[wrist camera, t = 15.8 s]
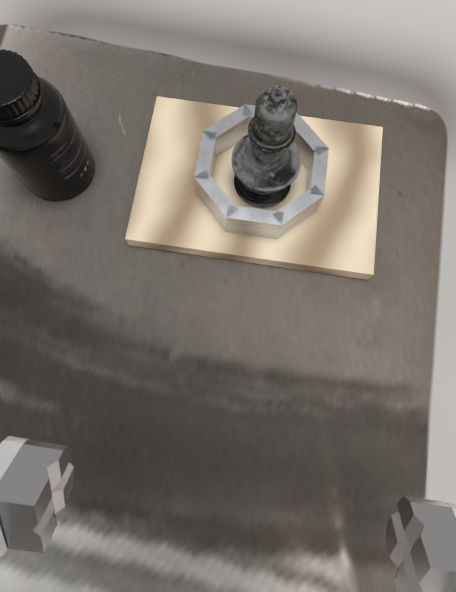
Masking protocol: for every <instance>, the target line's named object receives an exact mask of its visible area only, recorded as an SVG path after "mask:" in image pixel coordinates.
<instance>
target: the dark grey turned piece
mask: <svg viewBox="0 0 456 592" xmlns="http://www.w3.org/2000/svg"><path fill="white" fill-rule="evenodd" d="M296 112H297V100H296V97H295V95H294V94H293V93H292V92H291V91H290V90H289V89H287V88H286V87H283V86H282V85H276V86H270V87H267V88H266V89H264V90H262V91H261V93H260V94H259V96H258V98H257V100H256V106H255V114H254V117H253V118H252V119H251V121H250V123H249V125H248V134H247V135H245V136H244V137H242V138H241V139H240V140H239V141H238V142H237V143H236V145H235V147H234V149H233V152H232V158H231V161H232V168H233V170H234V173H235V176H234V187H235V190H236V192H237V194H238V195H239V197H240V198H241V199H242V200H243V201H244V202H246V203H247V204H249V205H252V206H254V207H259V208H267V207H272V206H275V205H277V204H279V203H280V202H282V201H283V200H284V199H285V198H286V196H287V195H288V193H289V191H290V188H291V183H292V182H293V181H294V180H295V179H296V177H297V176H298V173H299V171H300V168H301V156H300V152H299V150H298V148H297V146H296V144H295V143H294V142H293V141H294V139H295V136H296V129H295V125H294V120H295V116H296Z"/></svg>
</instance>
